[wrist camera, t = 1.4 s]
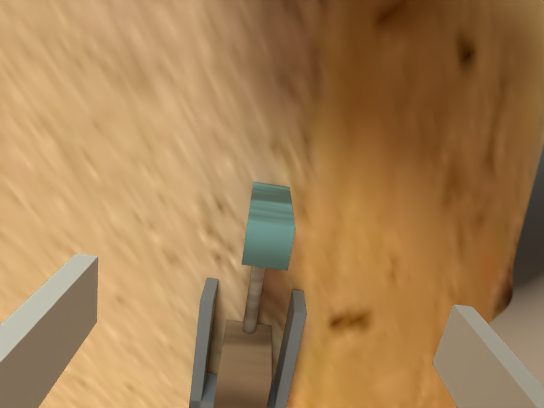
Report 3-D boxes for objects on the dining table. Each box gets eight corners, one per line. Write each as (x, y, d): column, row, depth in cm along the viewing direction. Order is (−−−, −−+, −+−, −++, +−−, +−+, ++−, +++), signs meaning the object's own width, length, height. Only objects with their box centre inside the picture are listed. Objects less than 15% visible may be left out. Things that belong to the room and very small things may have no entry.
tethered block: (246, 180, 37) (237, 220, 28) (296, 188, 38) (305, 230, 28) (221, 362, 45) (207, 442, 35) (263, 367, 45) (261, 448, 36)
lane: (206, 278, 41) (200, 299, 37) (303, 290, 41) (306, 313, 38) (195, 380, 46) (189, 408, 42) (282, 390, 46) (283, 419, 42)
